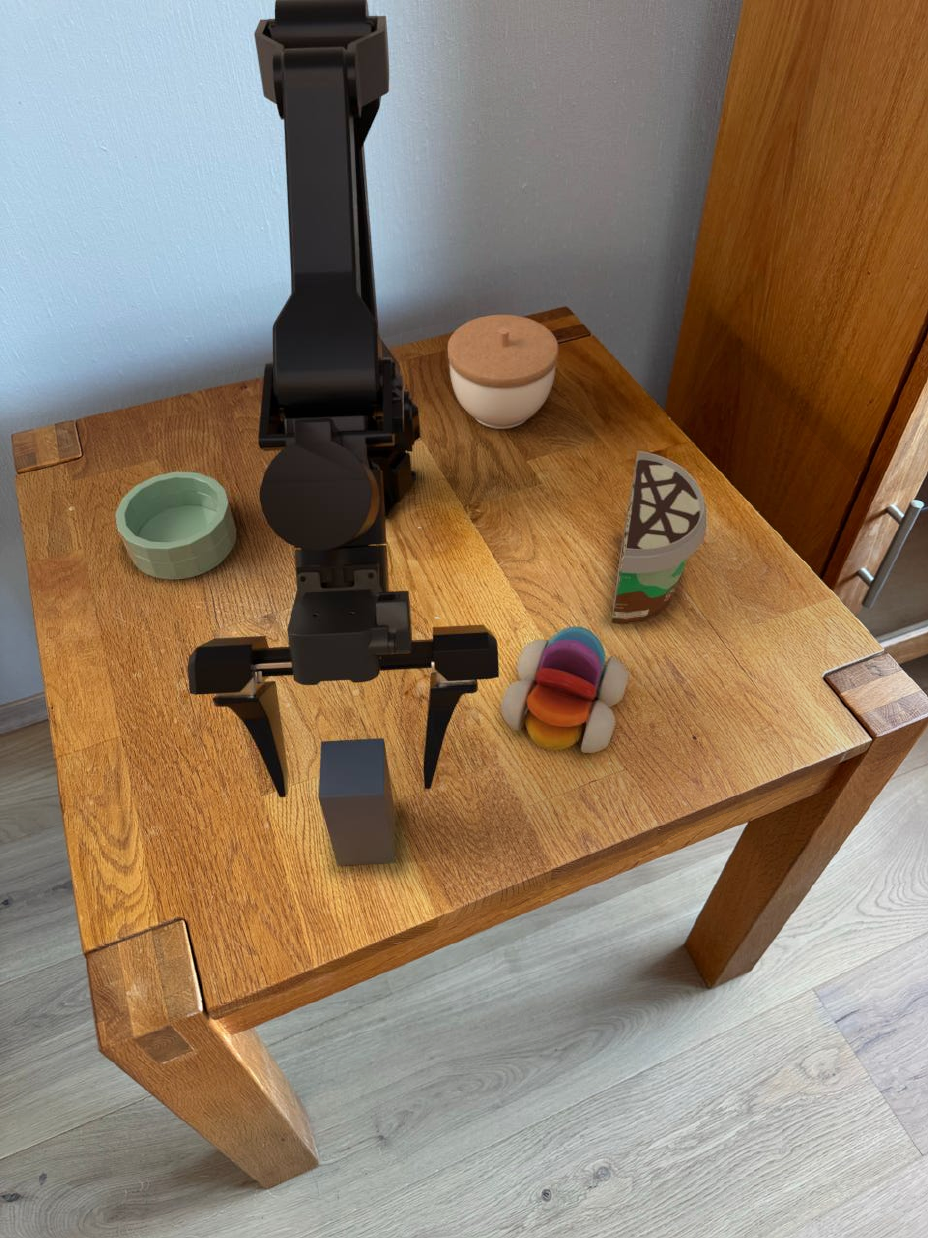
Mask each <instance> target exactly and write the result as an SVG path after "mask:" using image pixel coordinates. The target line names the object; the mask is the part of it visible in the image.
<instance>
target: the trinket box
mask: <svg viewBox="0 0 928 1238" xmlns="http://www.w3.org/2000/svg"><path fill="white" fill-rule="evenodd" d="M447 358H448V363H449V364H448V365H449V376H450V377H449V378H450V383H451V385H452V390H453V393H454V396H455V398H456V399H457V401H458V403H459V404H460V406H461V407H462V408H463V409H464V411H465V412H466V413H468V414H469V415H470V416H471V417H472V418H474V419H475V421H477V422H478V423H479V424H481V425H483V426H485V427H488V428H492V429H496V430H498V429H499V430H504V429H505V430H506V429H512V428H516V427H518V426H520V425H522V424H524V423H525V422H527V420H528V419H530V418H531V417H533V416H534V415H535V414H536V413H538V411H540V409H541V408H542V407H543V406H544V404H545V403H546V401H547V399H548V398H549V396H550V393H551V390H552V388H553V384H554V381H555V380H554V379H555V376H556V368H557V362H558V358H559V343H558V341H557V338H556V336H555V335H554V334H553V333H552V331H551V330H550V329H549V328H547V326H545V325H543V324H542V323H539V322H538V321H536V320H533V319H531V318H528V317H524V316H520V315H512V314H492V315H486V316H480V317H477V318H474V319H472V320H469V321H467V322H465V323H464V324H462V325H461V326H459V327H458V328H457V329H456V330H455V331H454V332H453V333H452V334H451V336H450V338H449V340H448V342H447Z"/></svg>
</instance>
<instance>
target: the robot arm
mask: <svg viewBox="0 0 928 1238" xmlns="http://www.w3.org/2000/svg"><path fill="white" fill-rule="evenodd" d="M368 3H369V2H368V0H275V2H274V18H268V19H267V18H266V19H265V18H264V19H259V22H258V24H257V26H256V28H255V31H254V33H253V36H254V42H255V48H256V56H257V61H258V68H259V75H260V81H261V88H262V93H263V97H264V98H265V99H267V100H269V101H270V102H272V103H273V104H275V105H276V108H277V112H278V116H279V118H280V120H282V121H283V126H284V127H283V128H284V129H283V130H284V131H283V132H284V147H285V149H284V150H285V171H286V172H285V174H286V197H287V217H288V218H287V219H288V239H289V262H290V263H289V264H290V295H289V297H288V298H287V300H286V302H285V303H284V305H283V307H282V308H281V309H280V312H279V314H278V315H277V317H276V319H275V320H274V323H273V325H272V361H265V365H264V370H263V381H262V393H261V402H260V405H261V406H260V414H259V415H260V416H259V427H258V437H257V439H258V447H259V449H260V450H262V451H264V452H275V451H276V452H277V451H279V452H278V453H277V454H276V455H275V456H274V457H273V458H272V459H271V460H270V462H269V464H268V465H267V467H266V469H265V470H264V473H263V477H262V480H261V484H260V487H259V503H260V506H261V511H262V515H263V517H264V518H265V520H266V523H267V524H268V526H269V527H270V528H271V530H272V531H273V532H274V533H275V535H276V536H278V537H279V538H280V539H281V540H283V541H284V542H285V543H287V544H288V545H291V546H293V548H294V550H293V551H294V564H295V581H296V593H295V596H294V599H293V600H294V601H293V603H292V604H293V605H292V606H291V607H292V608H291V610H290V611H291V612H290V614H289V615H290V617H289V621H288V625H287V628H286V630H287V637H288V638H287V639H288V646H275V647H274V646H273V647H269V643H268V639H267V637H266V635H254V636H236V637H235V636H234V637H217V638H216V637H215V638H213V639H210V640H208V641H206V642H204V643H202V644H201V645H199V646H197V647H196V648H195V649H194V650H193V651H192V653H191V654H190V655H189V657H188V662H187V676H188V691H189V694H190V695H214V696H213V698H212V703H213V705H214V706H215V707H218V708H229V709H230V710H231V711H232V712H233V713H234V714H235V715H236V716H237V717H238V718H239V719H240V720H241V722H242V723H243V724H244V726H245V729H246V730H247V732H249V734H250V736H251V737H252V739H253V742H254V743H255V745H256V747H257V750H258V752H259V755H260V757H261V759H262V761H263V763H264V766H265V768H266V770H267V772H268V775H269V777H270V779H271V781H272V784H273V787H274V789H275V790H276V793H277V796H278V797H279V798H287V796H288V793H289V767H288V761H287V760H288V759H287V753H286V745H285V738H284V731H283V725H282V717H281V709H280V702H279V696H278V695H279V694H278V688H277V681H276V680H269V681H266V680H267V679H268V678H269V677H286V676H288V677H289V676H292V677H293V681H294V682H295V683H297V684H299V685H301V686H316V685H317V686H318V685H319V684H320V683H321V682H334V681H335V682H337V681H351V683H354V684H356V683H367V682H371V681H373V680H375V679H376V678H377V677H379V675H380V672H382V671H400V670H418V669H431V672H430V676H429V677H430V678H429V679H430V680H429V689H428V691H429V692H428V702H427V714H426V726H425V727H426V728H425V739H424V751H423V752H424V753H423V783H424V785H423V786H424V790H431V788H432V786H433V781H434V779H435V778H434V777H435V775H436V774H435V773H436V770H437V767H438V762H439V758H440V755H441V750H442V747H443V743H444V740H445V736H446V733H447V729H448V726H449V724H450V722H451V719H452V717H453V715H454V712H455V710H456V708H457V706H458V703H459V702H460V699H461V698H462V696H463V695H469V694H475V693H477V692H478V691H479V683H478V680H481V681H482V680H492V679H497V678H500V669H499V668H500V667H499V647H498V640H497V638H496V636H495V634H494V633H493V632H492V631H491V630H490V629H489V628H488V627H487V626H486V625H485V624H468V625H467V624H466V625H450V626H449V625H447V626H433V627H432V638H429V639H428V638H427V639H413V628H412V613H411V612H412V611H411V601H410V591H409V590H394V591H391V590H390V582H389V580H390V579H389V563H388V545H387V529H386V528H387V527H386V518H387V517H388V516H389V515H390V513H391V512H392V511H393V510H394V509H395V507H396V506H397V505H398V504H399V503H400V502H401V501H403V499H404V498H405V497H406V495H407V494H408V493H409V491H410V490H411V489H412V487H413V484H414V483H415V481H416V480H417V479H418V475H417V472H416V471H415V470H412V463H411V461H412V460H411V455H410V452H414V450H413V449H414V448H413V446H415V442H416V441H417V440H419V439H420V438H421V426H420V414H419V407H418V405H416V404H415V403H414V402H413V397H412V396H411V392H410V389H404V388H405V387H404V376H403V375H402V374H401V366H400V363H399V362H398V360H397V359H396V357H395V356H394V355H393V353H392V352H391V350H389V348H388V347H387V345H386V344H385V342H384V341H383V340H382V338H381V335H380V330H379V329H380V328H379V319H378V318H379V317H378V306H377V294H376V291H377V290H376V280H375V269H374V267H375V265H374V254H373V242H372V230H371V229H372V228H371V216H370V204H369V203H370V202H369V193H368V192H369V191H368V180H367V178H368V177H367V166H366V153H365V152H366V151H365V142H366V139H367V138H368V136H369V133H370V131H371V128H372V126H373V124H374V121H375V119H376V118H377V115H378V112H379V110H380V106H381V101H382V97H383V96H385V95H387V94H388V93H389V92H390V56H389V53H390V52H389V39H388V38H389V37H388V26H387V25H388V24H387V15H370V12H369V4H368Z"/></svg>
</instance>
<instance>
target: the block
mask: <svg viewBox="0 0 928 1238" xmlns="http://www.w3.org/2000/svg"><path fill="white" fill-rule="evenodd" d="M319 759H320V760H319V776H318V777H319V778H318V795H317V797H318V801H319V804H320V808H321V811H322V815H323V819H324V823H325V826H326V829H327V833H328V836H329V839H330V844H331V848H332V851H333V854H334V857H335V861H336V865H337V867H342V866H343V867H344V866H345V867H346V866H362V865H381V864H394V863H396V810H395V809H396V808H395V803H394V797H393V796H394V795H393V790H392V784H391V783H392V781H391V775H390V769H389V764H388V756H387V748H386V743H385V738H384V737H375V738H360V739H359V738H358V739H340V740H338V739H337V740H326V741H325V740H321V741H320V757H319Z"/></svg>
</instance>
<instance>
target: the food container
mask: <svg viewBox="0 0 928 1238" xmlns="http://www.w3.org/2000/svg"><path fill="white" fill-rule="evenodd" d="M707 524H708V523H707V505H706V501H705V497H704V495H703V492H702V490H701V488H700V485H699V484H698V482H697V481H696V480H695V478H694V477H693V476H692V475H691V474H690V473H689V472H688V471H687V470H686V469H685V468H684V467H682V466H680V465H679V464H678V463H676V462H674V461H672V460H670V459H669V458H667V457H664V456H662V455H659V454H656V453H651V452H648V451H643V450H637V454H636V459H635V464H634V472H633V477H632V483H631V489H630V495H629V500H628V505H627V511H626V517H625V523H624V529H623V534H622V540H621V546H620V553H619V562H618V567H617V568H618V569H617V576H616V583H615V584H616V585H615V591H614V592H615V593H614V599H613V607H612V614H611V621H610V623H611V624H621V625H622V624H623V625H625V624H632V623H633V624H635V623H641V622H642V623H643V622H645V621H648V620H649V619H652V618H654V617H656V616H658V615H660V614H661V613H662V612H663V611H664V610H666V608H667V607H669V605H670V603H671V601H672V599H673V597H674V595H675V592H676V590H677V588H678V585H679V582H680V579H681V576H682V574H683V571H684V569H685V566H686V563H687V561H688V559H689V558H690V557H692V555H694V553H696V551H698V549H699V548H700V547H701V545H702V544H703V542H704V540H705V539H704V538H705V537H706V532H707V528H708V527H707V526H708V525H707Z"/></svg>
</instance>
